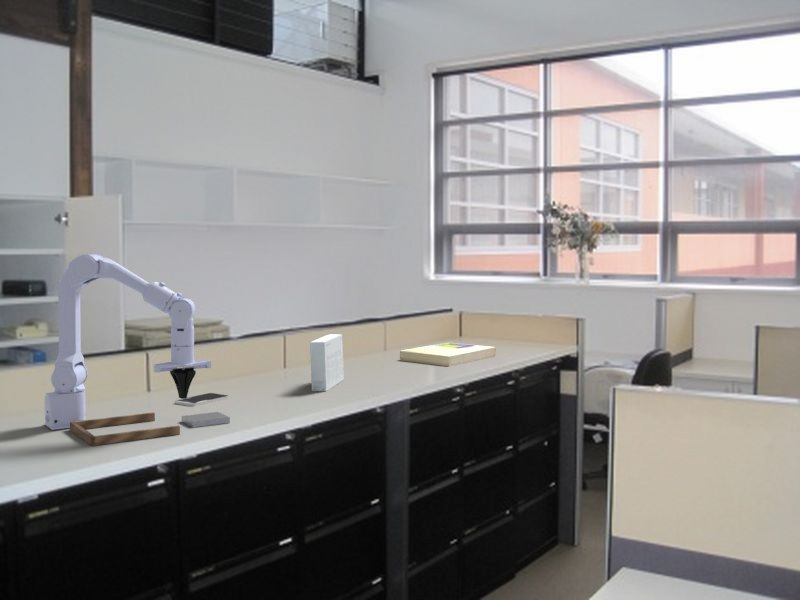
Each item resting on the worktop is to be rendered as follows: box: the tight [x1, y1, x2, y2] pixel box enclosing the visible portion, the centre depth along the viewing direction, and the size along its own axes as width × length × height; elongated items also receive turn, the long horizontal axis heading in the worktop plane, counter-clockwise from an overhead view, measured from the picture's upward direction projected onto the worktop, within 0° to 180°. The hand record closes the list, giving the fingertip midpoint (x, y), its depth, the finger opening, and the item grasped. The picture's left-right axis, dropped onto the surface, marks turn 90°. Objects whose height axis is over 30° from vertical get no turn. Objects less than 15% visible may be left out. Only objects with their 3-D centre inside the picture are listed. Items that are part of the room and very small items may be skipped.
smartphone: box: [174, 392, 229, 407], centre depth 243 cm, size 8×1×15 cm
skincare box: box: [309, 333, 345, 392], centre depth 270 cm, size 21×5×16 cm, turn 168°
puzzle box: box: [399, 342, 497, 367], centre depth 335 cm, size 36×5×24 cm
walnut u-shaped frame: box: [69, 411, 181, 447], centre depth 203 cm, size 21×19×2 cm
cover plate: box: [181, 411, 231, 429], centre depth 215 cm, size 10×8×2 cm
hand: (182, 397), depth 211 cm, fingers closed
